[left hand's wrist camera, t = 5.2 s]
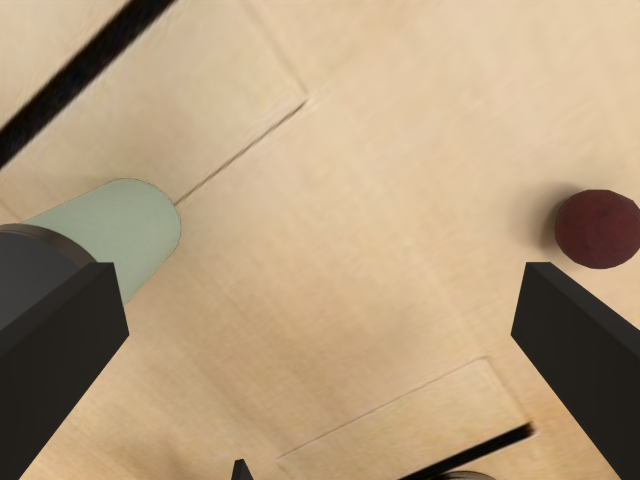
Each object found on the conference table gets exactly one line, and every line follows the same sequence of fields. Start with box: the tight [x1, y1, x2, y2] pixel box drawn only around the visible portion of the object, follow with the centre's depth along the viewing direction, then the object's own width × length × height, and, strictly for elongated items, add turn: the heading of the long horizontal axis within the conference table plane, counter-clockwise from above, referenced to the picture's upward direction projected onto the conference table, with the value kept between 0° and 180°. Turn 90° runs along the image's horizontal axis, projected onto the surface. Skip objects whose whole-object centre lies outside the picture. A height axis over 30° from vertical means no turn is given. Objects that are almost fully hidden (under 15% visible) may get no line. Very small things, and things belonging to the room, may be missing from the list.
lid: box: [0, 224, 97, 330], centre depth 26 cm, size 11×11×2 cm
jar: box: [20, 179, 181, 307], centre depth 34 cm, size 10×10×16 cm
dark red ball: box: [555, 190, 640, 269], centre depth 38 cm, size 7×8×7 cm
